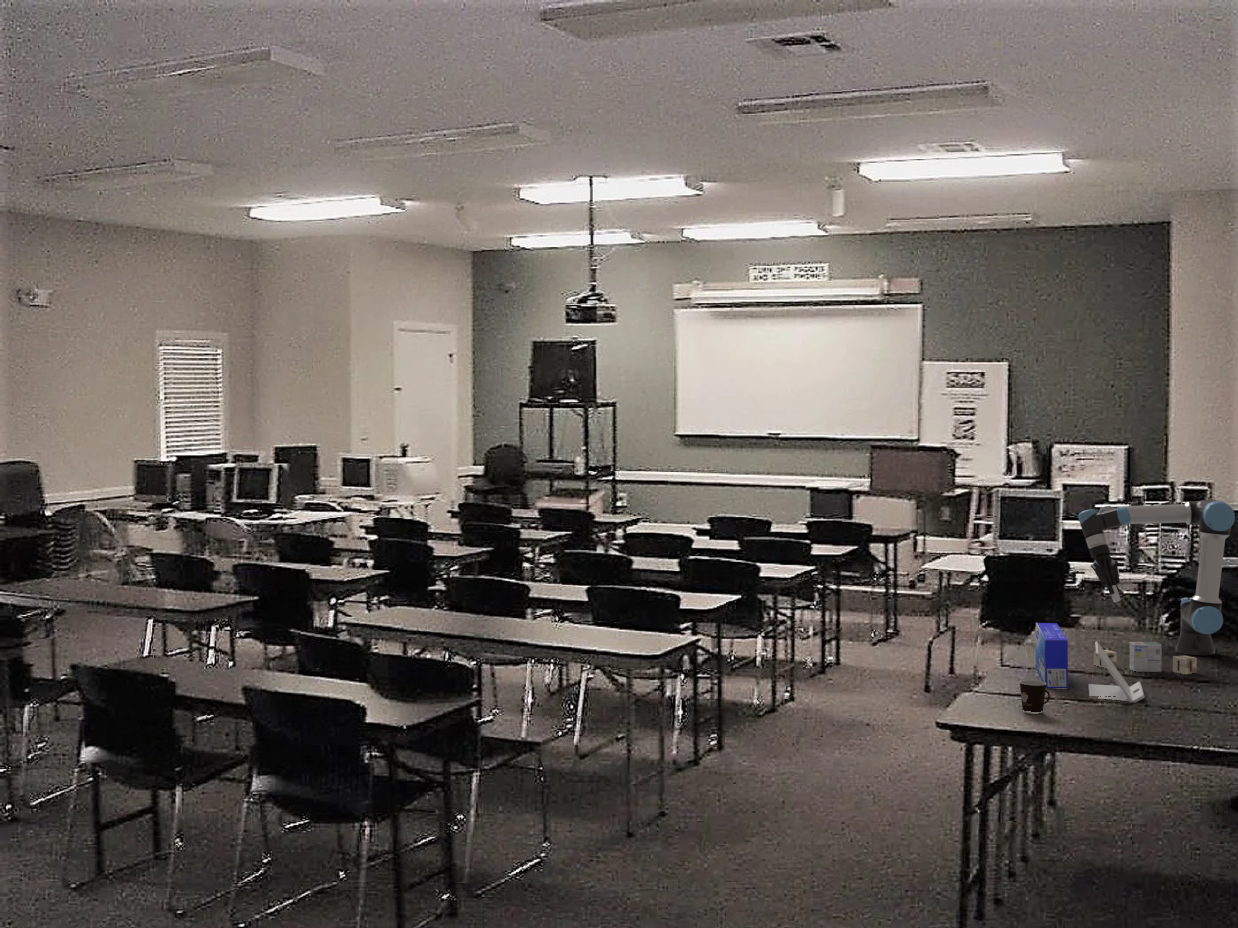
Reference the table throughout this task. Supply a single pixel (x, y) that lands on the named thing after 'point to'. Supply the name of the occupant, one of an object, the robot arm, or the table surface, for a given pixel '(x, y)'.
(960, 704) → the table surface
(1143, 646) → the light bulb box
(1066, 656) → the toner cartridge box
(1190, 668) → the birch block one
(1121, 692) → the tablet stand
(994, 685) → the table surface
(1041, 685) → the coffee mug
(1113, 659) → the birch block seven
